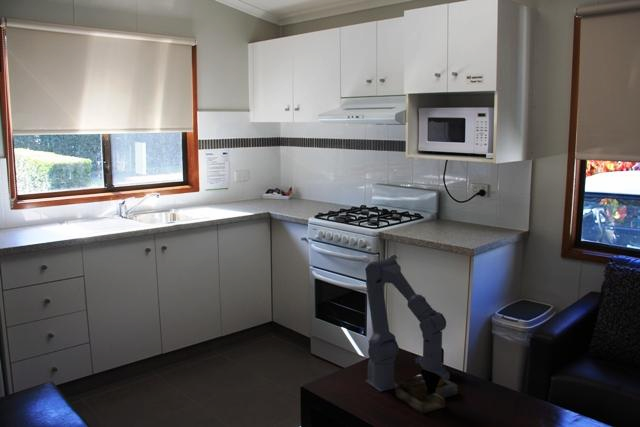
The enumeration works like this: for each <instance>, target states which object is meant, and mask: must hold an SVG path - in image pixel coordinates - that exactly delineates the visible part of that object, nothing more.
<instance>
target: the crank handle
mask: <svg viewBox="0 0 640 427" xmlns="http://www.w3.org/2000/svg"><path fill="white" fill-rule="evenodd" d="M441 386H443V378H442V377H441V379H440V380H439V382H438V385H437V388H438V387H441Z"/></svg>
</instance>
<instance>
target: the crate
mask: <svg viewBox="0 0 640 427" xmlns="http://www.w3.org/2000/svg"><path fill="white" fill-rule="evenodd" d="M401 382H402V390H403V391H405V392H406V393H408V394H409V395H411V396H412V397H414V398H415V399H417V400H419V399H423V398H426V384H425V383H423V382H421V381H420V380H418V379H417V378H416V377H415V378H413V377H412V378H408V379H405V380H402V381H401Z"/></svg>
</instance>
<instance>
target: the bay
mask: <svg viewBox="0 0 640 427" xmlns="http://www.w3.org/2000/svg"><path fill="white" fill-rule="evenodd" d="M397 384H398V387H397V388H395V397H396V398H398V399H400V400H401V401H403V402H404V403H405V404H407V405H408V406H410V407H411V408H413V409H414V410H415V411H417V412H418V413H420V414H422V415H423V414H427V413H430V412H433V411H437V410H440V409H443V408H445V407H446V397H445V398H443V397H441V396H440V395H438V394H436V393H433V394H429V393H428V392H427V388H426V398H423V399H419V400H417V399H415V398H414V397H412V396H411V395H409V394H408V393H406V392H405V391H403V390H402V381H399V382H397Z"/></svg>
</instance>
